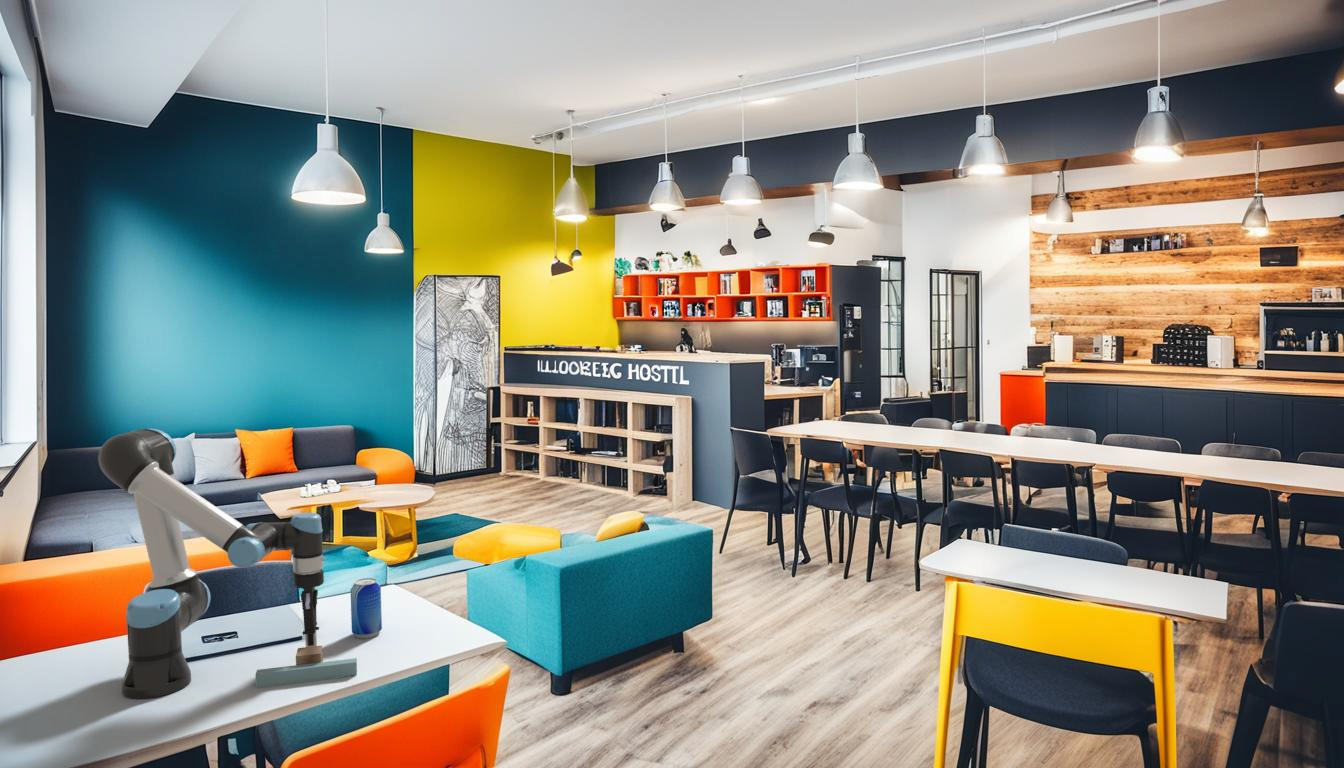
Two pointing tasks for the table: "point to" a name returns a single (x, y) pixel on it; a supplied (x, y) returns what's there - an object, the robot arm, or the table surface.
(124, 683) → the robot arm
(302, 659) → the block
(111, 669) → the table surface
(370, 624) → the beer can
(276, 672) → the board
